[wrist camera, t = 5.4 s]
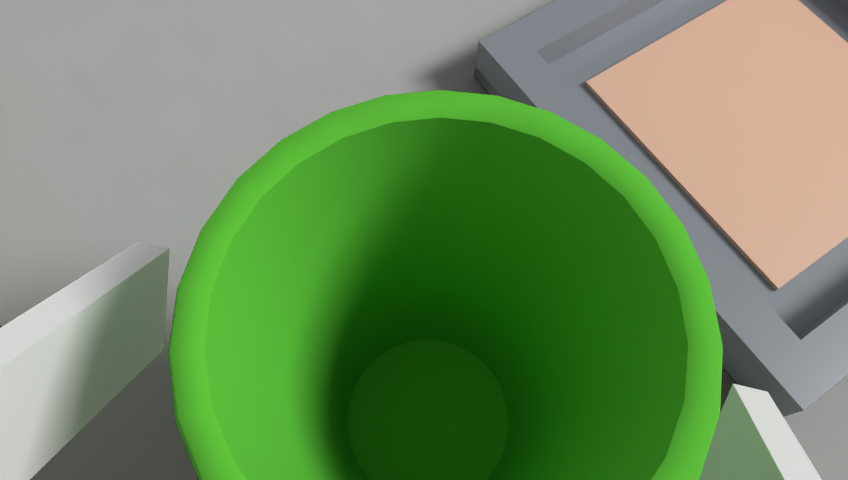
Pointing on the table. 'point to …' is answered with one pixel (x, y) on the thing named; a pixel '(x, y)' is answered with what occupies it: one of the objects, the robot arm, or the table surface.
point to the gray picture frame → (719, 153)
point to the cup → (445, 307)
